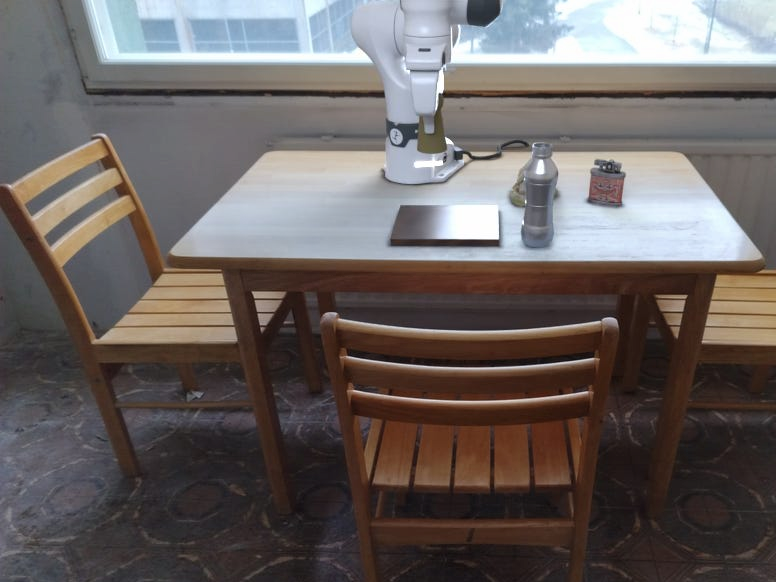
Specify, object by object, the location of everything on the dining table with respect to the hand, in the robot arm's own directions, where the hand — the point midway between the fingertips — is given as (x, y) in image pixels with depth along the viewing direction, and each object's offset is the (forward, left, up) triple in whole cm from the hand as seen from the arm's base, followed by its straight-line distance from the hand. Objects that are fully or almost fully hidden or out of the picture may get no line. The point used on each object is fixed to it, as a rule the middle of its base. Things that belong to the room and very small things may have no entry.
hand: (431, 128), depth 127 cm
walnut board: (-1, +2, -21) cm, 21 cm away
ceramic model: (-27, +9, -21) cm, 36 cm away
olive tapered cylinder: (0, 0, -4) cm, 4 cm away
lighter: (-32, +25, -21) cm, 46 cm away
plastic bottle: (-4, +22, -21) cm, 31 cm away
